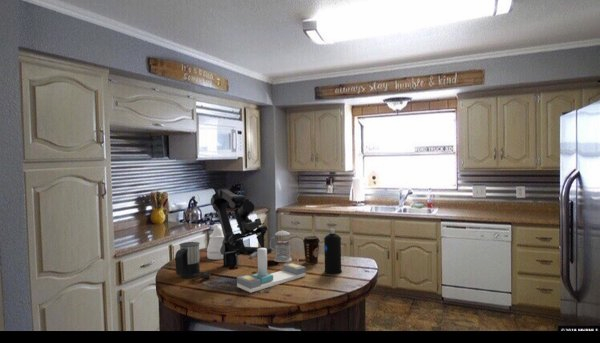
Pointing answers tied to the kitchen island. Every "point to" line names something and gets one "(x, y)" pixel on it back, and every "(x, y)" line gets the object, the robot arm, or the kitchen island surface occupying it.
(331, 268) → the aerosol can
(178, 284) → the kitchen island surface
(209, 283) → the kitchen island surface
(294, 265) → the rail
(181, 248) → the milk frother
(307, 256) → the coffee cup
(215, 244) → the white jug
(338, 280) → the kitchen island surface
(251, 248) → the door handle
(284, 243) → the french press
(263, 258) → the carriage
